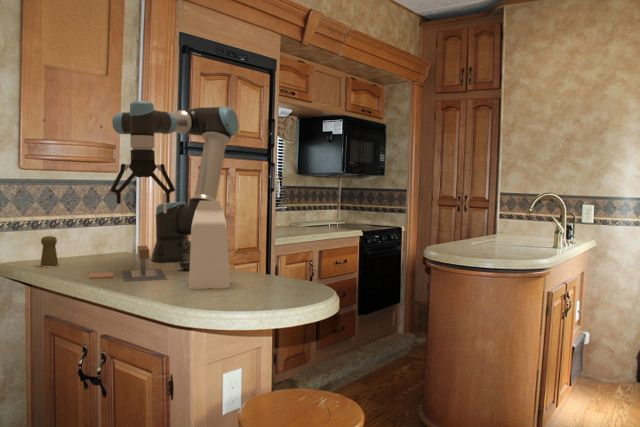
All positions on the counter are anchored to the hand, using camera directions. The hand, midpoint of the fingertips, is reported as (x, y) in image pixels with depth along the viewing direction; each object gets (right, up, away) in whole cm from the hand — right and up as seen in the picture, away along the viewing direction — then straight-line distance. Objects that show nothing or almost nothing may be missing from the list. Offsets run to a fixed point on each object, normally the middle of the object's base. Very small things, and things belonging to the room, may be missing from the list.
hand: (143, 213), depth 182 cm
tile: (-14, -20, 0) cm, 25 cm away
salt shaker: (+12, -21, +11) cm, 26 cm away
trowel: (0, -20, 0) cm, 20 cm away
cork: (-41, -20, +20) cm, 50 cm away
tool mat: (0, -21, 0) cm, 21 cm away
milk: (+25, -22, -13) cm, 36 cm away
